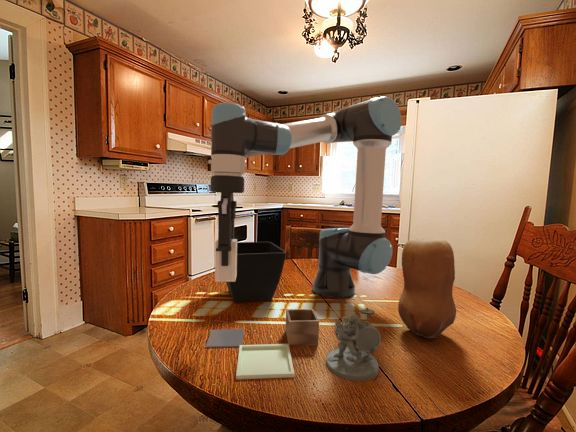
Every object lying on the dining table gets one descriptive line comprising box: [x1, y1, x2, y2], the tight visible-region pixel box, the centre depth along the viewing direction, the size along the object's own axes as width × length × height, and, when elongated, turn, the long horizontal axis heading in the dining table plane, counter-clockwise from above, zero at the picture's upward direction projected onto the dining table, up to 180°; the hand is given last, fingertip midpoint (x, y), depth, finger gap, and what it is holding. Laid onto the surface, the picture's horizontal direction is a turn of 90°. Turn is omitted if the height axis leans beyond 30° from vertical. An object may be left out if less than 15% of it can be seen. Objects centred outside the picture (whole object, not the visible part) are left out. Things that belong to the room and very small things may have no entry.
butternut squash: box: [397, 238, 457, 339], centre depth 74 cm, size 14×13×25 cm
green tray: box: [235, 343, 295, 380], centre depth 61 cm, size 11×11×1 cm
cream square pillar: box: [214, 238, 238, 283], centre depth 68 cm, size 5×5×9 cm
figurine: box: [325, 307, 382, 382], centre depth 60 cm, size 11×11×12 cm
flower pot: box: [226, 241, 287, 304], centre depth 99 cm, size 19×19×17 cm
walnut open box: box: [284, 308, 320, 347], centre depth 71 cm, size 7×7×6 cm
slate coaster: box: [205, 328, 245, 349], centre depth 70 cm, size 8×8×1 cm
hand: (226, 275), depth 69 cm, fingers closed on cream square pillar, 5 cm apart
